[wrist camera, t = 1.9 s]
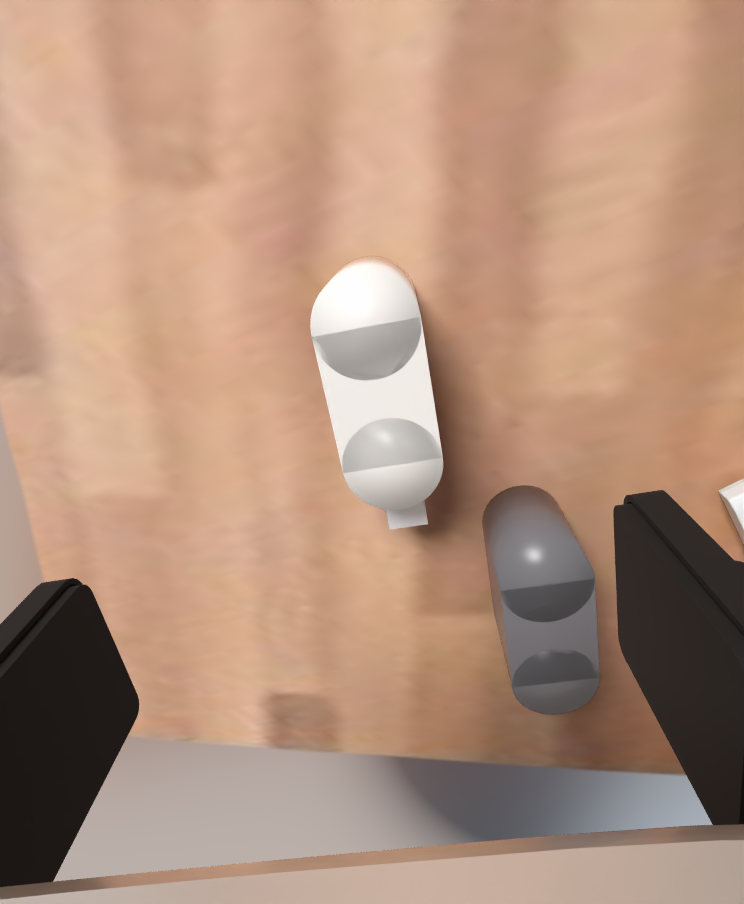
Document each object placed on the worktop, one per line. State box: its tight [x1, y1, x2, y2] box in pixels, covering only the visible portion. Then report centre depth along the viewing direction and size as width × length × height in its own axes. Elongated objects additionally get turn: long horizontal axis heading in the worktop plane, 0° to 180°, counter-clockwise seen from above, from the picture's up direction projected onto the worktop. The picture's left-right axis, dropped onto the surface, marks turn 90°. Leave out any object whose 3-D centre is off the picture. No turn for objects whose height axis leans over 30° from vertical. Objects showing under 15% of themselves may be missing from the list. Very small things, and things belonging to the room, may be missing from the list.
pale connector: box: [311, 256, 443, 530], centre depth 22 cm, size 11×4×5 cm, turn 11°
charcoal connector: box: [482, 486, 600, 715], centre depth 26 cm, size 11×4×5 cm, turn 11°
